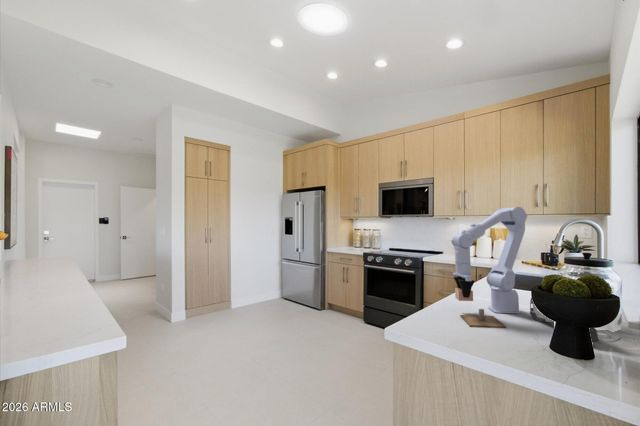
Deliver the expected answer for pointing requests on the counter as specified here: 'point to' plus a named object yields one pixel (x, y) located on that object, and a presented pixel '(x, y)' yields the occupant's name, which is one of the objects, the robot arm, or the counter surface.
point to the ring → (460, 296)
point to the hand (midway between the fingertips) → (464, 295)
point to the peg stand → (482, 320)
